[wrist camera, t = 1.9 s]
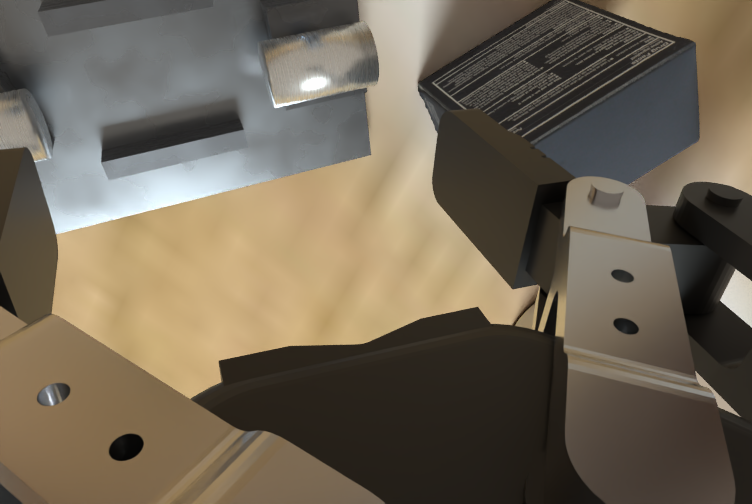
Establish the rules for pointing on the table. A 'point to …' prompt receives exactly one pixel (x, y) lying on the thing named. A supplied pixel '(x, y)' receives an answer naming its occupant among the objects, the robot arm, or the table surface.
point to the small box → (580, 89)
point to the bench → (179, 97)
